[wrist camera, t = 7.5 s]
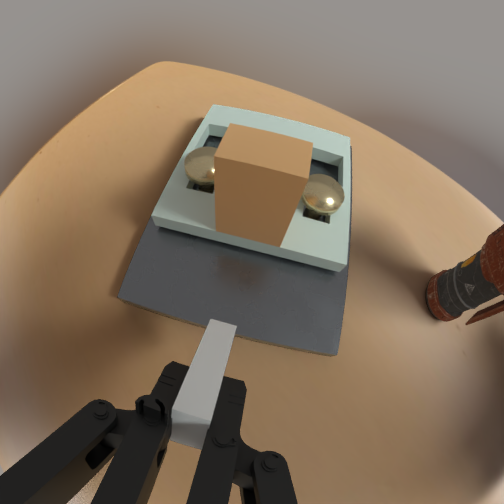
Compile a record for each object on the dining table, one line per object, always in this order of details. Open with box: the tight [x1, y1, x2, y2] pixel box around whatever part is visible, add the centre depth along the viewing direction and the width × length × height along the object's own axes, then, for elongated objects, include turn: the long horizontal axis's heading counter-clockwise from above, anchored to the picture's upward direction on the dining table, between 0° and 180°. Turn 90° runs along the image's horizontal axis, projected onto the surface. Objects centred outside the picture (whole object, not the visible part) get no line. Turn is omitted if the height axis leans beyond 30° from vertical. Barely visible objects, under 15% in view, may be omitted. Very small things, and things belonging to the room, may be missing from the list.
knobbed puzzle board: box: [151, 104, 351, 272], centre depth 21 cm, size 16×16×10 cm
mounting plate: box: [117, 135, 352, 356], centre depth 24 cm, size 18×24×5 cm
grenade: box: [426, 224, 504, 325], centre depth 17 cm, size 6×8×15 cm
